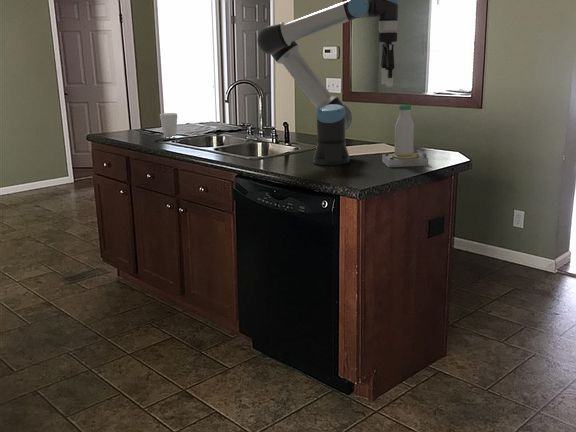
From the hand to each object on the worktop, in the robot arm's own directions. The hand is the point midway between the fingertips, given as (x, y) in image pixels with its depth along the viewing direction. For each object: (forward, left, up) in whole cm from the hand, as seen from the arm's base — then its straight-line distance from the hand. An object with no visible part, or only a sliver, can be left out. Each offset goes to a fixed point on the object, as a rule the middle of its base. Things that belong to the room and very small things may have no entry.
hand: (387, 85), depth 254 cm
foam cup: (-102, +82, -31) cm, 135 cm away
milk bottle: (+4, -15, -27) cm, 31 cm away
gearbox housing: (+5, -15, -31) cm, 34 cm away
